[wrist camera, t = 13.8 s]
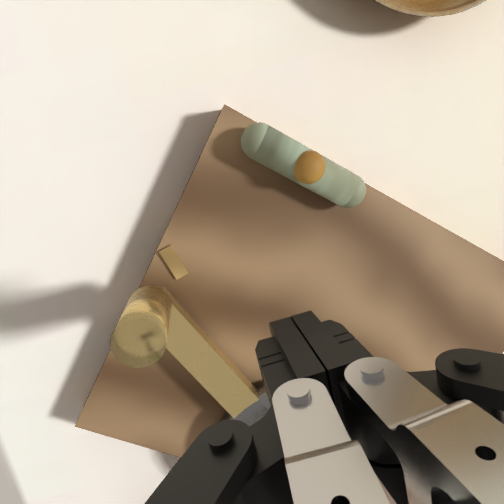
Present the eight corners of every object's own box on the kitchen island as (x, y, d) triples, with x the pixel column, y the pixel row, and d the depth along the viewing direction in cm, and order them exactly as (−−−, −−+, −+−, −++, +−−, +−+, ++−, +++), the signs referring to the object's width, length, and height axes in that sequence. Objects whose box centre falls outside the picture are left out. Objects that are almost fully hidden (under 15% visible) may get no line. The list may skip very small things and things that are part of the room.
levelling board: (381, 498, 32) (411, 553, 27) (83, 406, 25) (60, 457, 21) (522, 277, 28) (583, 298, 24) (221, 109, 22) (228, 96, 18)
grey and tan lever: (376, 440, 27) (424, 514, 21) (269, 520, 27) (289, 613, 22) (206, 230, 21) (210, 254, 16) (73, 333, 22) (30, 393, 16)
